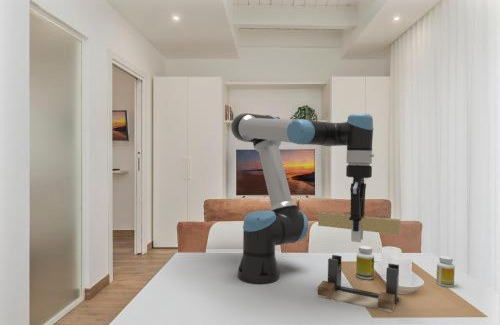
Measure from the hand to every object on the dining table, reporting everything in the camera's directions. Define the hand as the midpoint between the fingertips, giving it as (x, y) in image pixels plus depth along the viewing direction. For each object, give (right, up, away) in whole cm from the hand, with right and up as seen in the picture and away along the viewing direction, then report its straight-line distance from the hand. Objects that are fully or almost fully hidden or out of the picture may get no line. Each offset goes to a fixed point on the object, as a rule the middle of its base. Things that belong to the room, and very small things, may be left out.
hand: (357, 240), depth 106 cm
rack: (+3, -18, +5) cm, 19 cm away
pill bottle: (+9, -19, +21) cm, 29 cm away
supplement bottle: (+36, -19, +14) cm, 43 cm away
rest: (-1, -18, 0) cm, 18 cm away
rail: (0, +3, 0) cm, 3 cm away
